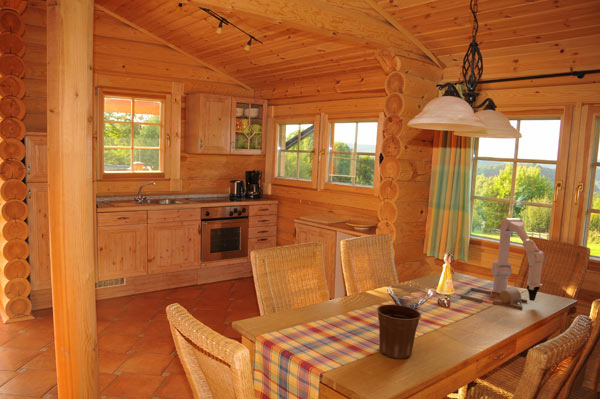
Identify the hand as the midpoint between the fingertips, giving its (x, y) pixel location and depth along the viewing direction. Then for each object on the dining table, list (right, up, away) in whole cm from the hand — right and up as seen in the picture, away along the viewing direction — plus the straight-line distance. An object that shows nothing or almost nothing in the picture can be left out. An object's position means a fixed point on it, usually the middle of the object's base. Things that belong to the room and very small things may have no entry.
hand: (531, 300), depth 231 cm
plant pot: (-83, -6, -60) cm, 103 cm away
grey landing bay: (-22, -1, +16) cm, 27 cm away
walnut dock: (-8, -3, +6) cm, 11 cm away
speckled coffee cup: (-8, -3, +5) cm, 10 cm away
